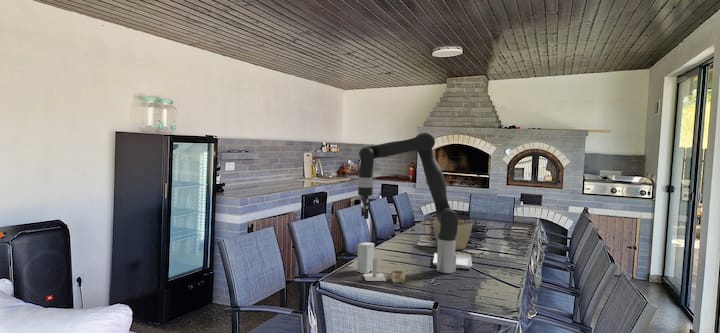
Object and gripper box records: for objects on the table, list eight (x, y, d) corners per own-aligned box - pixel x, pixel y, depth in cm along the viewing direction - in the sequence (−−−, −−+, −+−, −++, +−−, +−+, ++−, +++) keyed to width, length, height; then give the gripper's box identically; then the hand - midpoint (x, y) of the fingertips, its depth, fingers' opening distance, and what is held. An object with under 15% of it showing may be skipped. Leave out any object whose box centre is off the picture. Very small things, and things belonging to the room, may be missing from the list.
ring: (402, 278, 216) (402, 270, 216) (404, 282, 210) (405, 274, 210) (390, 278, 216) (390, 270, 215) (392, 282, 210) (392, 274, 210)
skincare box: (366, 274, 221) (367, 245, 220) (356, 272, 224) (357, 244, 223) (374, 270, 228) (375, 242, 228) (364, 268, 231) (365, 241, 231)
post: (382, 275, 220) (383, 256, 220) (386, 281, 210) (386, 261, 210) (363, 275, 219) (363, 256, 219) (365, 281, 209) (366, 261, 209)
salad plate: (472, 271, 233) (472, 265, 233) (432, 268, 237) (432, 261, 237) (470, 261, 254) (471, 255, 253) (434, 258, 258) (434, 252, 258)
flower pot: (430, 245, 289) (431, 220, 288) (454, 243, 297) (455, 219, 296) (448, 252, 271) (449, 225, 271) (472, 250, 279) (473, 224, 279)
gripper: (375, 187, 217) (374, 219, 218) (370, 184, 231) (369, 215, 232) (360, 187, 215) (359, 219, 216) (356, 184, 230) (355, 215, 230)
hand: (364, 217), depth 224 cm, fingers open, 8 cm apart
